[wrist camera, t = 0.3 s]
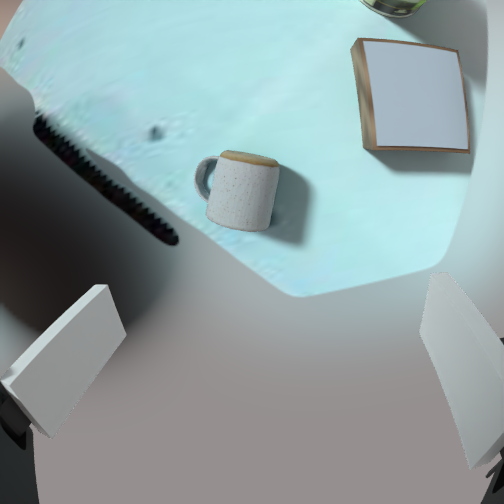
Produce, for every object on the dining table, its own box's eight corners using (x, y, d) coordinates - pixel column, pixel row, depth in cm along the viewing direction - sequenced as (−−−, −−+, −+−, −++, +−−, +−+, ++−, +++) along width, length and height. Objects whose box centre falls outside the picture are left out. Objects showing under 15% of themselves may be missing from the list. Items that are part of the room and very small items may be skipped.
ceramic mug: (284, 158, 35) (279, 163, 28) (271, 219, 38) (264, 240, 31) (203, 143, 36) (179, 146, 29) (194, 203, 39) (171, 219, 32)
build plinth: (350, 49, 28) (358, 37, 23) (440, 57, 25) (458, 49, 21) (363, 147, 33) (373, 150, 28) (451, 149, 30) (471, 153, 25)
